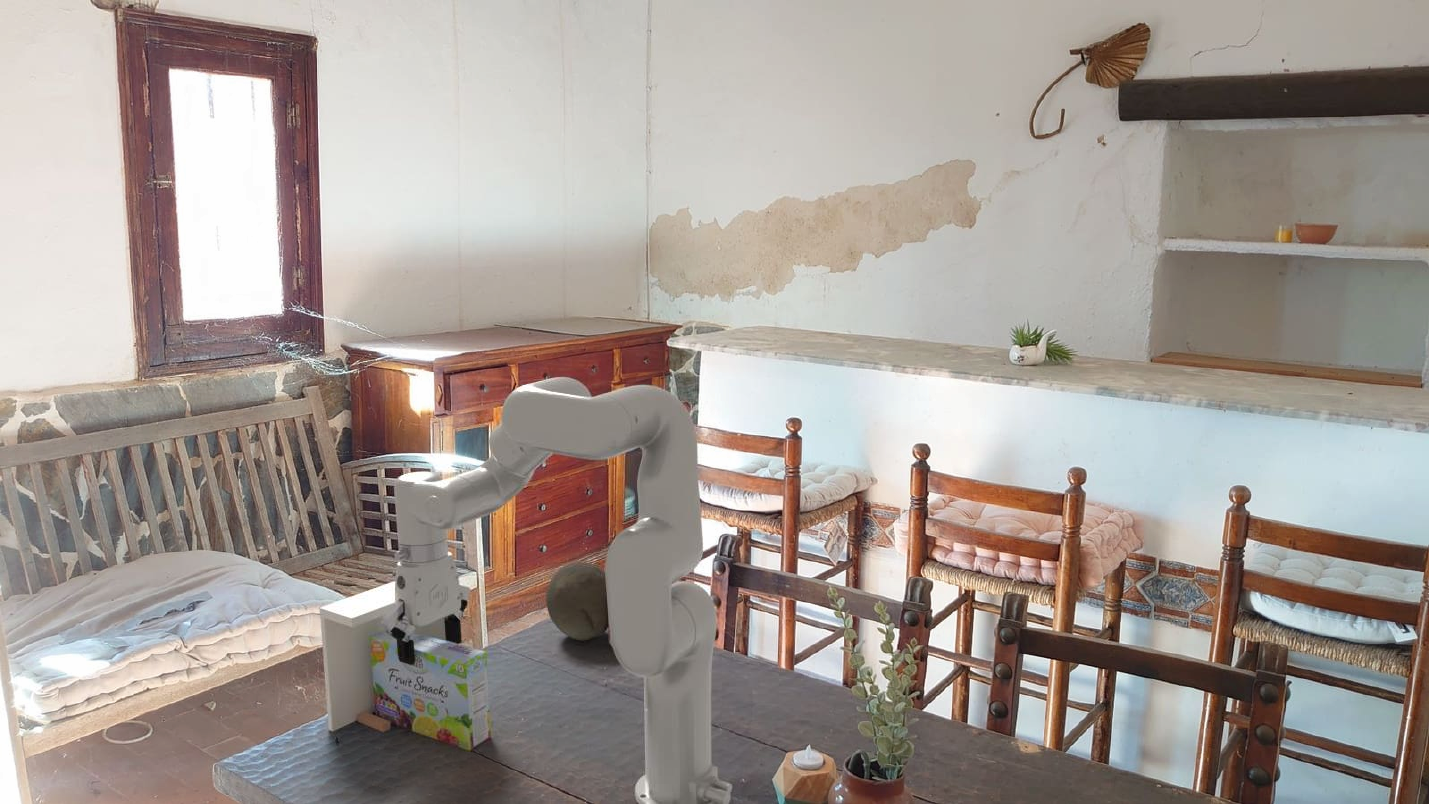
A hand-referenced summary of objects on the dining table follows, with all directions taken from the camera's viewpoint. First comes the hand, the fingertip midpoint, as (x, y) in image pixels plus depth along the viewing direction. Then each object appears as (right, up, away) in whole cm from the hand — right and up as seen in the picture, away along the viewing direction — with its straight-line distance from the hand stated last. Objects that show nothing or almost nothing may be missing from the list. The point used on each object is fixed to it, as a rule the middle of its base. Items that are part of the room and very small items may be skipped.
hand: (430, 652), depth 171 cm
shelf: (-8, -12, +8) cm, 17 cm away
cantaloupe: (+19, -7, +39) cm, 44 cm away
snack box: (0, -13, +2) cm, 14 cm away
